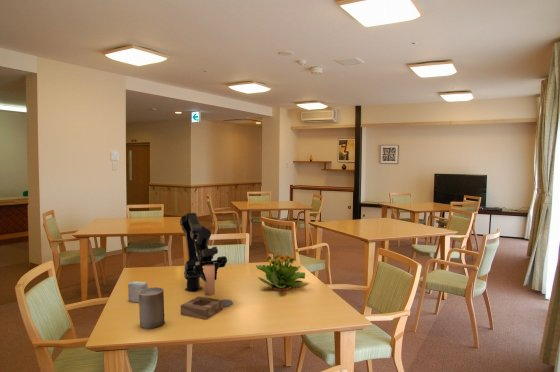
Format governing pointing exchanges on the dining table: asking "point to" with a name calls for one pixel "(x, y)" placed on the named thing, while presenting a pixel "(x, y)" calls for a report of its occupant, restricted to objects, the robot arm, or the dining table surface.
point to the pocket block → (201, 307)
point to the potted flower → (281, 273)
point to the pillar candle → (151, 307)
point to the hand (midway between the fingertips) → (210, 280)
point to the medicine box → (135, 290)
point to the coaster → (227, 303)
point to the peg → (209, 279)
